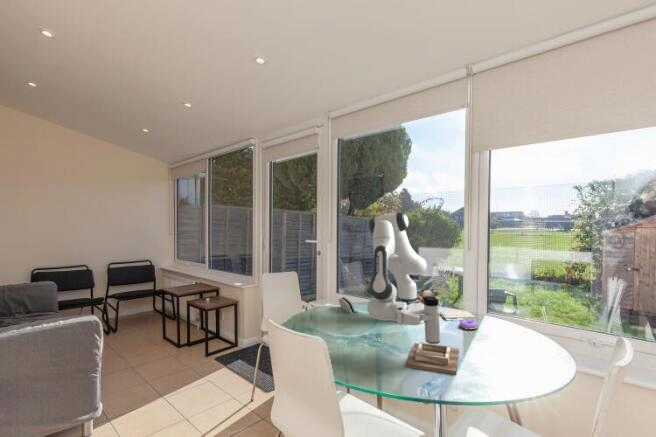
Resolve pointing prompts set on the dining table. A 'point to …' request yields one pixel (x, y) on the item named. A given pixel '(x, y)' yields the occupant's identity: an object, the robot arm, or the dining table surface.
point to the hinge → (347, 305)
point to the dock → (433, 358)
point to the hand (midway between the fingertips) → (433, 314)
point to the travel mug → (432, 325)
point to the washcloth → (456, 314)
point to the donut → (468, 324)
